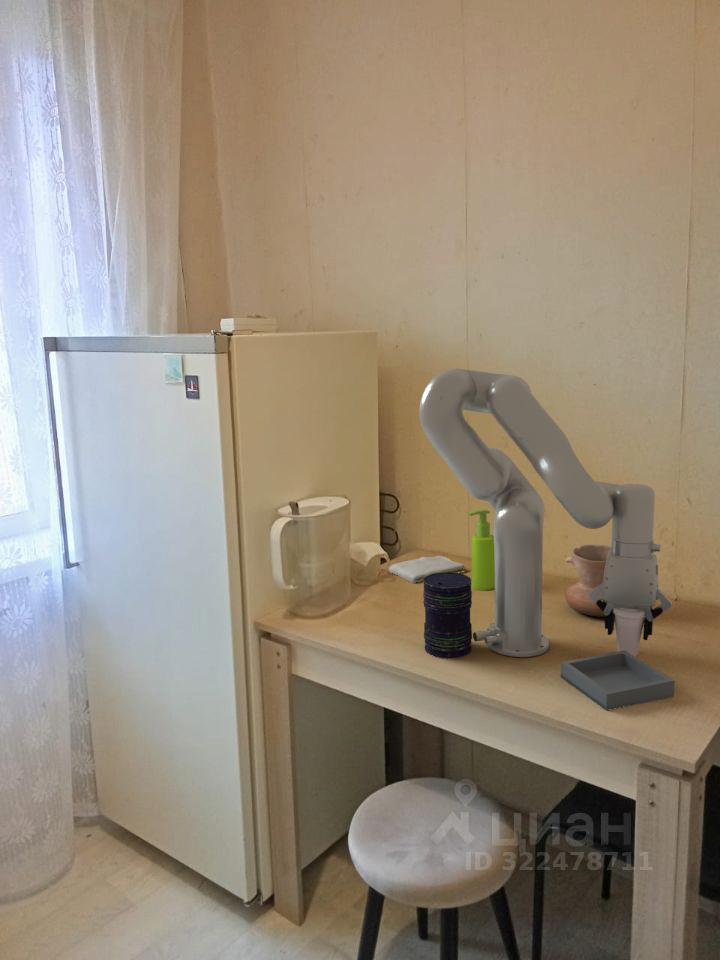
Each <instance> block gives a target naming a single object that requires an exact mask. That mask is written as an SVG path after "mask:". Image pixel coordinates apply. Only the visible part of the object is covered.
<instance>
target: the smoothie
mask: <svg viewBox="0 0 720 960" xmlns="http://www.w3.org/2000/svg"><path fill="white" fill-rule="evenodd" d="M613 613H615V615H614V625H615V633H616V634H615V635H616V646H617V652H619V651H626V652H628V653H629V654H631V655H633V656H634V657H636V658H637V656H638V653H639V649H640V643H641V639H642V638H641V637H642V633H643V630H644V620H645V617H646V615H645V613H644V610H643V608H642V607H638V606H630V605H622V604H615V605H614V606H613Z"/></svg>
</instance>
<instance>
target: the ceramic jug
mask: <svg viewBox="0 0 720 960" xmlns="http://www.w3.org/2000/svg"><path fill="white" fill-rule="evenodd" d="M611 547H612V545H608V544H607V545H606V544H584V545H583V544H582V545H579V546H578V547H577V546H575V547H574V548H573V549H571V556H568V557H566V559H565V562H566V563H568V564H572V565H573V566H574V567H575V570H576V574H577V577H578V579H579V581H577V582H575V583H574V584H572V585H570V586H568V587H567V589H566V592H565V594H564V595H565V600H566V603H567V605H568V606H569V607H570V608H571V609H573V610H574V611H576V612H578V613H580V614H583V615H587V616H591V617H602V618H603V617H604V618H605V615H604V613H603V611H602V610H601V609H600V608H599V607H598V606H597V604H596V603H595V602H594V601H593V600H592V599H591V598H590V596H589V593H590V592H591V591H592V590H593V589H595V588H596V587H597V586H598V585H600V584H601V583H602V582H603V578H604V570H605V564H606V559H607V555H608V552H609V551H610V550H611ZM599 596H600V597H601V598H602V599H603V597H602V592H601V593H600V594H599ZM603 600H604V599H603ZM604 601H605V600H604ZM605 602H606V603H607V604H608V602H607V601H605ZM614 605H615V604H614ZM612 610H613V608H612ZM614 616H615V613H614Z"/></svg>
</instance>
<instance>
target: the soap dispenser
mask: <svg viewBox="0 0 720 960" xmlns="http://www.w3.org/2000/svg"><path fill="white" fill-rule="evenodd" d="M490 513H491V511H490V510H489V509H474V510H471V511H468V512H467V515H469V516H472V517H473V516H475V515H479V521H478V522H476V523H475V524H476V525H475V529H476V531H475V532H476V534H472V535H471V536H470V538H471V541H470V542H471V544H470V545H471V547H470V548H471V551H470V552H471V554H470V555H471V563H470V564H471V589H474V590H478V591H490V590H495V553H494V534H493V535H492V534H491V524H490V522H488V521H487V514H490Z"/></svg>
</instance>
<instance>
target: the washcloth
mask: <svg viewBox="0 0 720 960" xmlns="http://www.w3.org/2000/svg"><path fill="white" fill-rule="evenodd" d="M462 571H465V565H464V563H460V562H456V561H453V560H451V559H450V558H448V557H445V556H442V555H436V556H429V557H428V556H421V557H420V558H415V559H409V560H405V561H402V562H397V563H394V564H392V565H390V566H389V567H388V572H390V573H391V574H392V573H393V574H392V575H394V574H395V575H394V576H396V575H398V576H397V577H399V576H400V577H399V578H401V579H403V580H405V581H407V582H409V581H410V582H409V583H412V584H416V582H418V583H421V582H420V581H423V582H424V578H425V577H426V576H428V575H431V574H435V573H445V572H448V573H458V572H462ZM465 572H466V571H465ZM462 573H463V572H462Z"/></svg>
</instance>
